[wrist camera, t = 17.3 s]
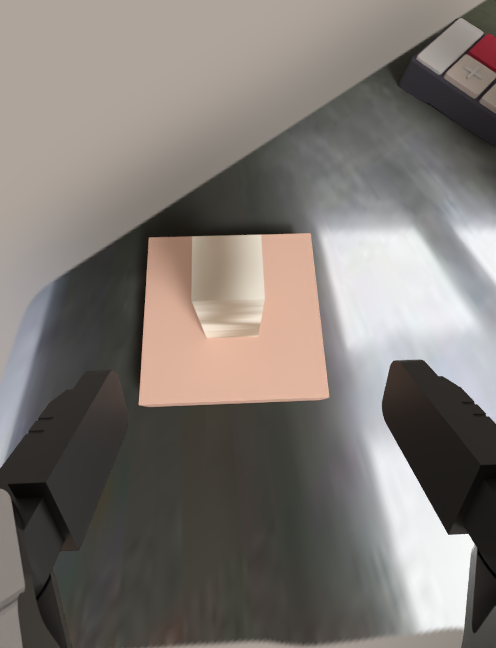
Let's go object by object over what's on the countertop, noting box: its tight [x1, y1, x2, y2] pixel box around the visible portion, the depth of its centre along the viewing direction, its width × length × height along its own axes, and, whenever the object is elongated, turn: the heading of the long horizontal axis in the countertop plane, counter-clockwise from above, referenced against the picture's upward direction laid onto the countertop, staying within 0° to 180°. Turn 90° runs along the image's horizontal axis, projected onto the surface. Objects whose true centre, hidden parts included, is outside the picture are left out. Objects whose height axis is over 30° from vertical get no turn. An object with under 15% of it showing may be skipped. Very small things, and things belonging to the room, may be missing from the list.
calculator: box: [398, 18, 496, 146], centre depth 41 cm, size 11×4×15 cm
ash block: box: [191, 235, 265, 338], centre depth 25 cm, size 5×5×9 cm
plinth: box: [139, 233, 329, 407], centre depth 31 cm, size 16×16×3 cm
